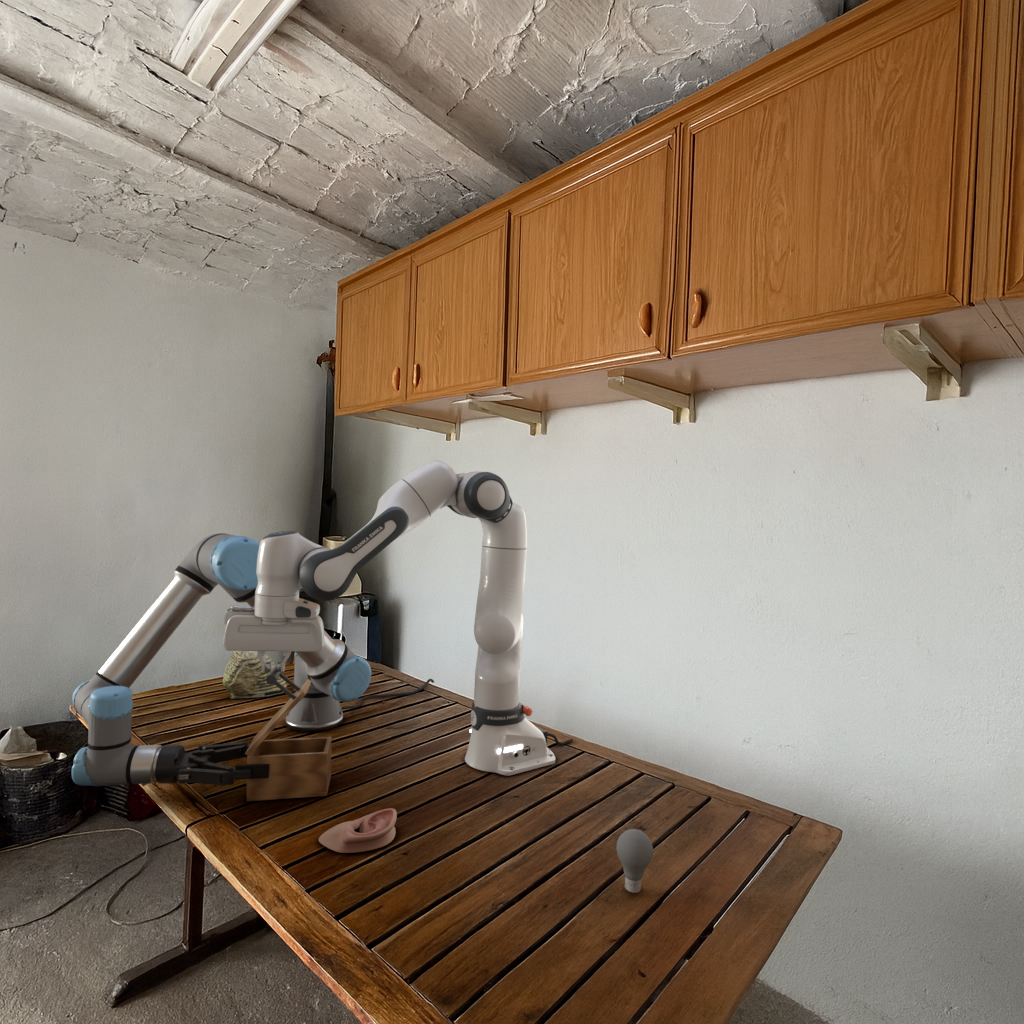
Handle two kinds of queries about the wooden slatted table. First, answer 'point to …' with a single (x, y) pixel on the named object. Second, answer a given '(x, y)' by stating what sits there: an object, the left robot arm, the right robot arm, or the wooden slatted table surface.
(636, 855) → the light bulb
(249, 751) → the lid
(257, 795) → the chest
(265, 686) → the fossil
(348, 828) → the anatomical model
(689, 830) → the wooden slatted table surface
